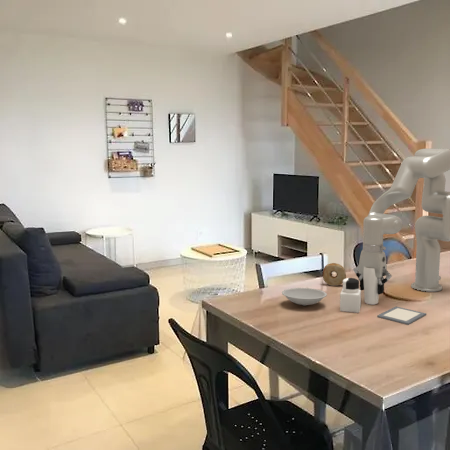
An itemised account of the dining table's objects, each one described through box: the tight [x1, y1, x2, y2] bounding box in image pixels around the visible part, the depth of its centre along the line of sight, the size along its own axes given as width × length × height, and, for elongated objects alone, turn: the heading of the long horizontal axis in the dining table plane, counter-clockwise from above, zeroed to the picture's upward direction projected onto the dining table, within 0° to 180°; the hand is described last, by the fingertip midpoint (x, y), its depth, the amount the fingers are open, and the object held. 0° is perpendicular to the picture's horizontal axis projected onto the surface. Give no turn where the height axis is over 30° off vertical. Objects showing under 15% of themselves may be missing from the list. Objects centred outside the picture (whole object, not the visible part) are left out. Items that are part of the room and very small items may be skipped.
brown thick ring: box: [322, 262, 347, 287], centre depth 229 cm, size 10×4×10 cm, turn 68°
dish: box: [281, 287, 328, 307], centre depth 204 cm, size 18×14×5 cm
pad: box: [376, 306, 427, 326], centre depth 189 cm, size 14×12×1 cm
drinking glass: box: [363, 267, 379, 305], centre depth 204 cm, size 7×7×15 cm
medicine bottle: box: [339, 277, 362, 314], centre depth 197 cm, size 7×7×12 cm
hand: (371, 291), depth 204 cm, fingers open, 7 cm apart
